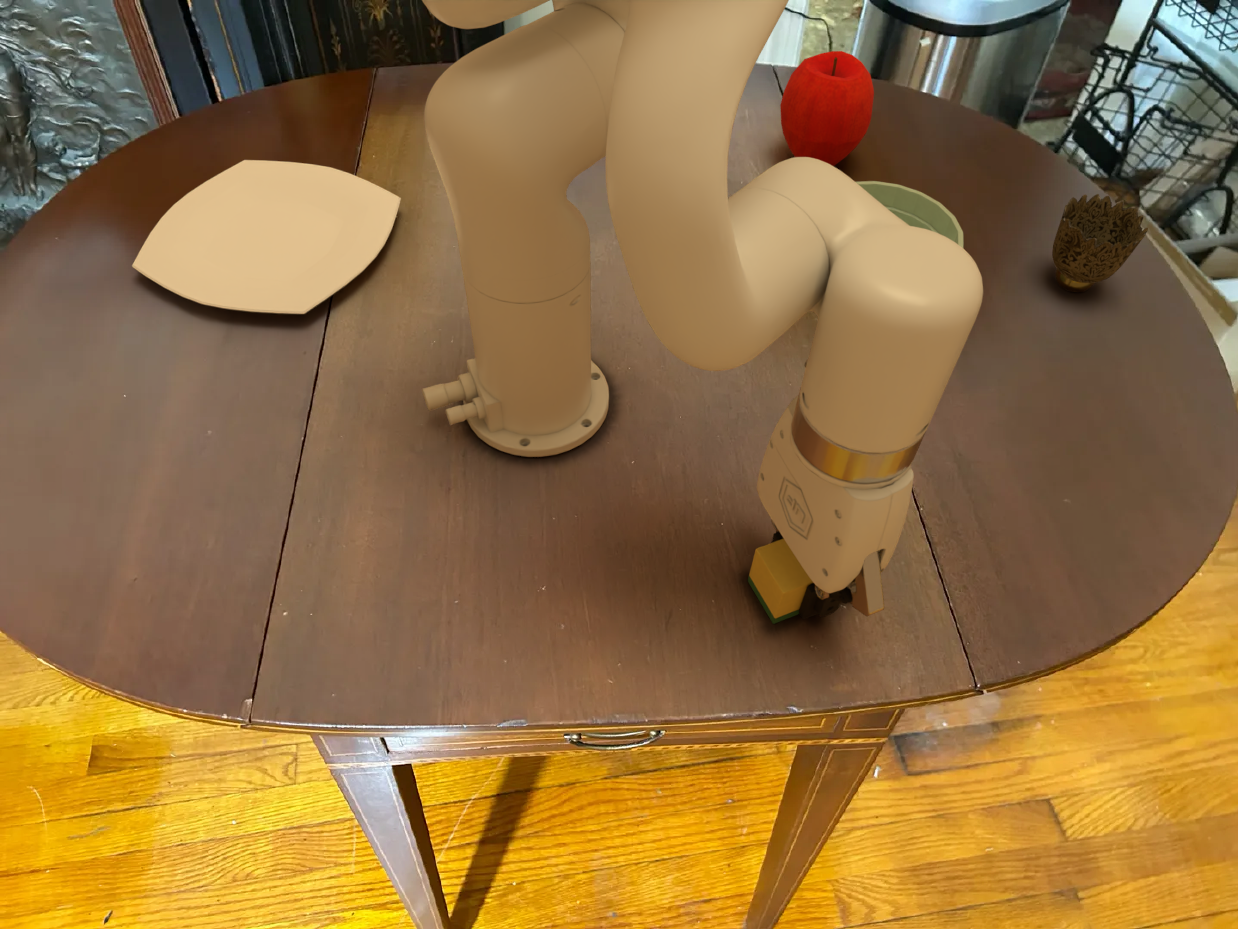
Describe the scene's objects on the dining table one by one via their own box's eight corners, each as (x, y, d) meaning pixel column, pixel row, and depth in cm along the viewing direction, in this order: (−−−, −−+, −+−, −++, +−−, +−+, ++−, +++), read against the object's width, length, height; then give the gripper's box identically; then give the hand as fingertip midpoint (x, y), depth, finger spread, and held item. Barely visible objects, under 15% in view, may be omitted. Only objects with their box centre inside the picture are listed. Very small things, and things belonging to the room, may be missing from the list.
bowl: (846, 340, 85) (859, 295, 81) (768, 245, 94) (776, 200, 89) (976, 300, 89) (996, 255, 85) (890, 212, 97) (904, 168, 93)
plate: (243, 160, 101) (238, 144, 99) (432, 205, 96) (429, 189, 95) (105, 289, 87) (96, 273, 86) (317, 349, 83) (312, 333, 81)
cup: (1114, 313, 88) (1154, 247, 82) (1036, 302, 89) (1070, 235, 83) (1105, 265, 93) (1142, 198, 86) (1030, 254, 94) (1062, 187, 87)
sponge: (773, 624, 66) (783, 593, 63) (747, 580, 69) (755, 548, 65) (854, 592, 68) (868, 560, 65) (826, 551, 71) (838, 517, 67)
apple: (788, 127, 107) (807, 24, 98) (869, 149, 105) (897, 45, 95) (759, 170, 102) (776, 66, 92) (844, 195, 99) (870, 90, 90)
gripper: (735, 348, 58) (706, 514, 72) (882, 555, 48) (816, 699, 62) (836, 318, 59) (789, 486, 74) (997, 511, 50) (907, 660, 64)
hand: (802, 582), depth 68 cm, fingers closed on sponge, 4 cm apart
